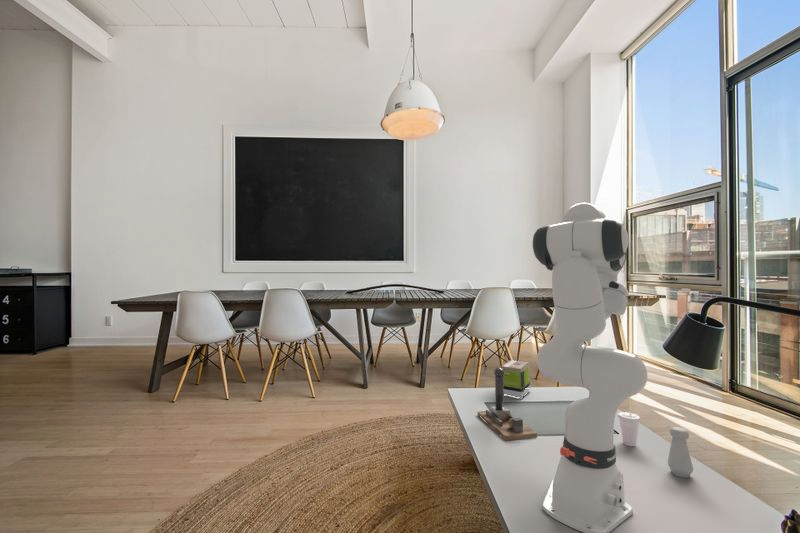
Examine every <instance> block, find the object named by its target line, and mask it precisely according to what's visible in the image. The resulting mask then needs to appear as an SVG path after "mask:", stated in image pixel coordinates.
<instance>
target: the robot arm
mask: <svg viewBox="0 0 800 533" xmlns="http://www.w3.org/2000/svg"><path fill="white" fill-rule="evenodd" d="M532 236H533V237H532V251H533V254H534V257H535V258H536V260H537V261H538V262H539V263H540V264H541V265H543V266H545V268H546V269H547V270H548V271H552V272H551V273H552V275H551V289H552V290H551V291H552V300H553V305H554V314H555V323H556V328H555V332H554V335H553V336H552V338H551V339H550V340H549V341H548V342H546V343H544V344H543V345H542V346H541V347H540V349H539V350H538V353H537V354H536V366H537V368H538V371H539V372H540V374H541V375H542V377H545V378H546V379H549V380H552V381H553V382H554V381H555V382H557V383H559V384H564V385H569V386H574V387H579V388H585V389H587V390H588V392H589V393H588V397H586V398H585V397H584V398H580V399H578V400H574V401H572V402H570V403H568V405H567V406H566V409H565V412H564V413H565V415H564V417H565V419H564V421H565V423H564V424H565V425H564V426H565V435H564V436H563V441H562V446H561V447H560V448H559V449H560V450H559V453H560V459H559V462H558V464H557V466H556V467H557V468H556V471H555V474H554V477H553V478H552V480H551V482H550V485H549V487H548V490H547V492H546V494H545V497H544V499H543V501H542V506H541V509H542V510H543V511H544V512H545V513H546V514H547V515H548V516H550V517H552V519H554V520H556V521H558V522H560V523H562V524H564V525H566V526H567V527H570V528H572V529H574V530H576V531H579V532H581V533H610V532H612V531H613V530H614V529H615V528H617V527H618V526H620V524H622V523H623V522H625V521H626V520H627V519H628V518H629V517H630V516H632V515H633V514H634V510H633V507H632V506H631V505H630V504H628V503H627V502H626V495H625V483H624V482H625V481H624V474H623V473H622V472H621V470H620V468H619V467H618V466H617V464H616V462H617V451H616V449H617V448H616V445H615V443H614V435H615V434H614V433H615V432H614V431H615V430H614V427H615V419H616V414H617V412H618V410H619V408H620V406H622V404H624V403H625V401H626V400H628V399H629V398H631V397H633V396H636V395H637V394H639V393H641V391H643V389H644V388H645V386H646V385H647V382H648V371H647V367H646V365H645V363H644V361H643V359H641V357H640V356H639V355H637V354H635V353H631V352H629V351H626V350H621V349H619V348H611V347H603V346H597V345H596V346H593V345H589V344H586V343H585V342H588V341H591V340H594V339H596V338H597V337H599V336H600V335H601V334H602V333H603V332H604V331H605V329H606V325H607V320H608V319H609V318H610V317H611V316H612V315H617V316H620V317H621V316H622V315H624V314H626V310H627V306H628V303H629V302H628V298H627V297H628V296H629V293H630V291H629V290H628V289H627V288H626V286H624V285H623V284H621V283H619V282H618V275H619V273H620V272H621V271H622V269H623V268H624V265H625V263H626V260H627V256H628V254H627V249H628V247H629V242H630V241H629V240H630V239H629V237H630V236H629V234H628V230H627V229H626V227H625V225H624V223H623V222H621V221H619V220H618V219H615V218H611V217H610V216H606V214H605V213H604V212H603V211H602V210H601V209H600V208H599V207H597V206H596V205H594V204H591V203H588V202H580V203H576V204H574V205H572V206H571V207H569V209H567V211H566V212H565V214H564V217H563V222H561V223H557V224H552V225H551V224H547V225H543V226H541V227H539V228H537V230H536V231H535V232H534V234H533V235H532Z"/></svg>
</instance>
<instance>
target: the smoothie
mask: <svg viewBox="0 0 800 533" xmlns="http://www.w3.org/2000/svg"><path fill="white" fill-rule="evenodd" d="M632 410H633V409H632V402H629V411H628V412H627V411H619V412H618V413H617V417H618V420H619V423H620V430H621V437H622V443H623V445H625V446H627V445H628V447H632V446H634V447H636V446H637V439H638V432H639V425H640V422H641V417H640V416H639V414H636V413H633V412H632Z"/></svg>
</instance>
